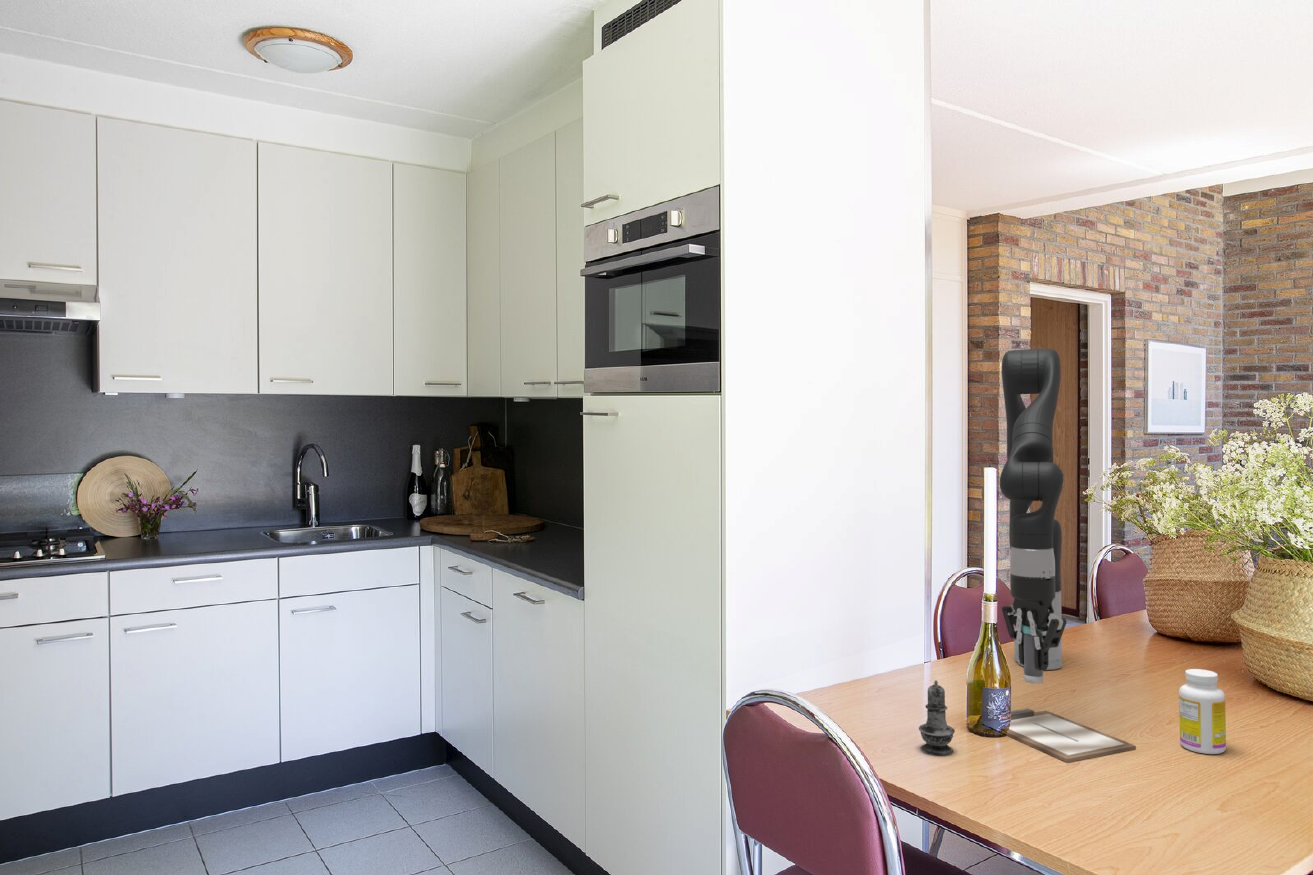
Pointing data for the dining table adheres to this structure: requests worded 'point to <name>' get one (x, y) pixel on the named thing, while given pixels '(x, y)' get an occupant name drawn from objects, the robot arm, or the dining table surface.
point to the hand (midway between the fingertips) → (1033, 666)
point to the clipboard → (1062, 736)
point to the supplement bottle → (1202, 713)
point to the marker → (1030, 658)
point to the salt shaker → (936, 724)
